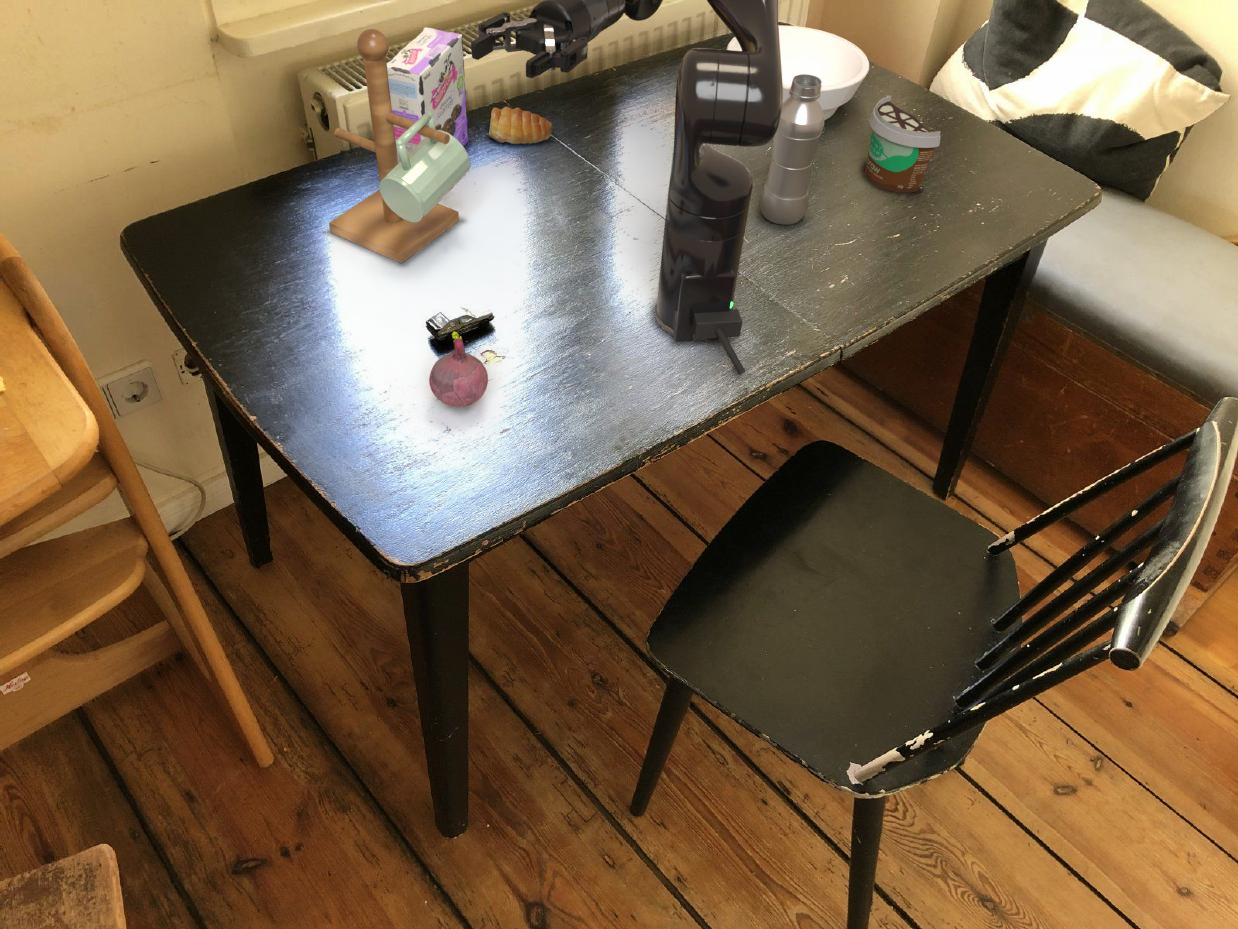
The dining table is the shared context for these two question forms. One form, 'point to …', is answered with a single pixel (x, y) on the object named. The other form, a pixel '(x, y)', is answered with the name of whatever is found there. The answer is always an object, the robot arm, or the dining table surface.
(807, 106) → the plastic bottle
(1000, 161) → the dining table surface
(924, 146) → the food container
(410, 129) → the mug
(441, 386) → the vegetable
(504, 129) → the pastry
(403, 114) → the candy box
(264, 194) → the dining table surface
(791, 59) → the bowl
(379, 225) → the mug tree
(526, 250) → the dining table surface
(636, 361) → the dining table surface
